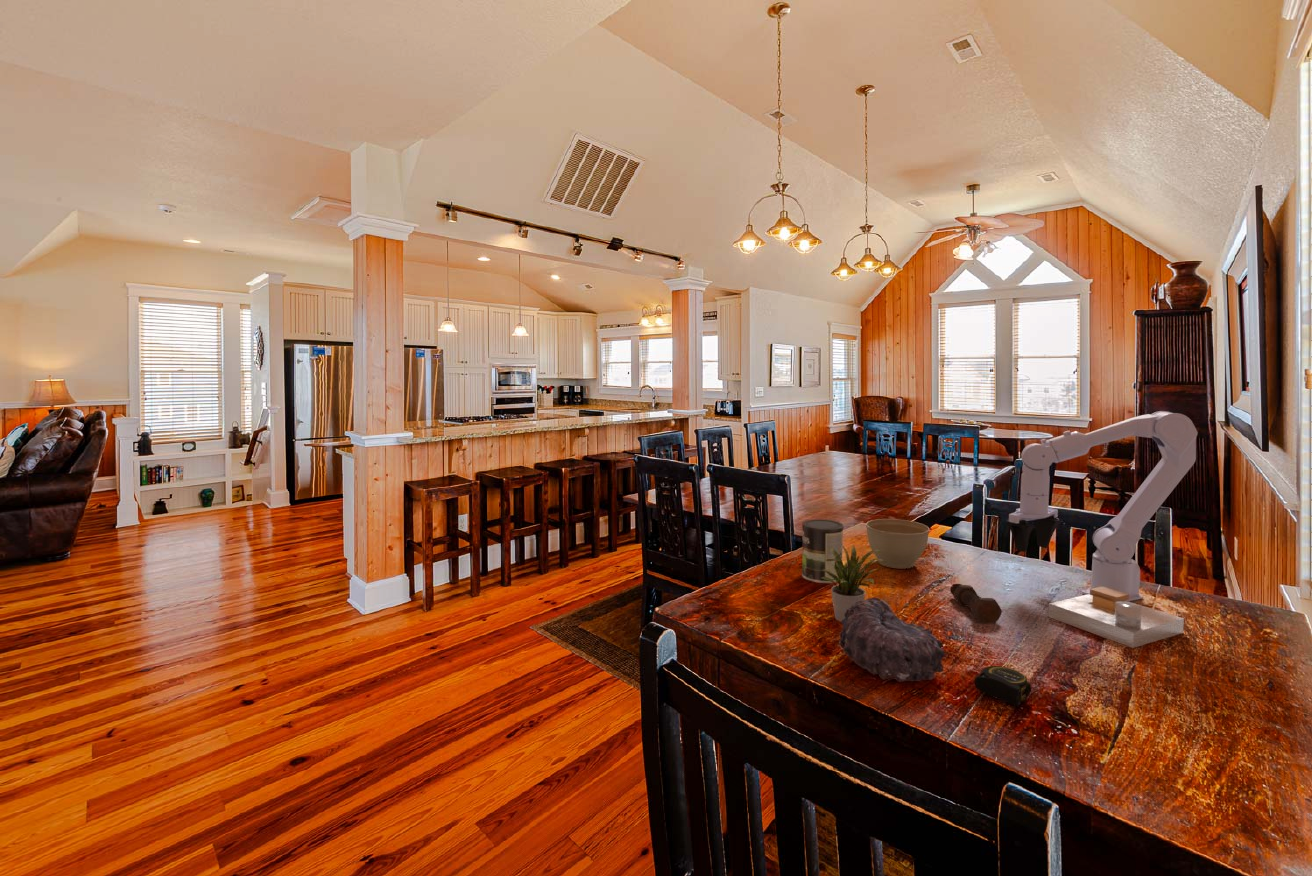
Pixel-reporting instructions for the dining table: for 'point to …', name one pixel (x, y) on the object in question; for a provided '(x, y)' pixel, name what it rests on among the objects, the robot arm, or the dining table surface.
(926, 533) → the planter bowl
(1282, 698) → the dining table surface
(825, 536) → the coffee can
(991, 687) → the tape measure
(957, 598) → the bolt
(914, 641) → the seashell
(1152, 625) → the grey slab with hole
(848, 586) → the house plant
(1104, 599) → the tan chamfered block
